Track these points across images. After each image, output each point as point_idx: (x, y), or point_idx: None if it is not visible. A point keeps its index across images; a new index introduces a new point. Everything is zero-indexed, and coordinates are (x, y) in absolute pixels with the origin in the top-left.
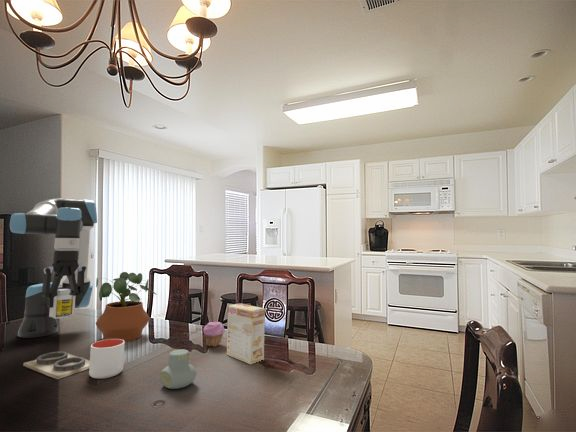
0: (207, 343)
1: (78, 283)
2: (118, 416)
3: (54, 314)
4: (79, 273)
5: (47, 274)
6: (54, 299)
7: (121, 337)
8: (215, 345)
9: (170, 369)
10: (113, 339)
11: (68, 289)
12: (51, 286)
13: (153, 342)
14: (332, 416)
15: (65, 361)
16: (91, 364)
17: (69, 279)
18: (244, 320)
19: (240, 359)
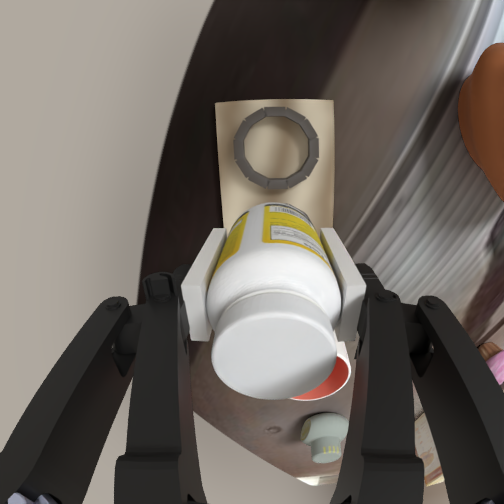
0: (480, 350)
1: (440, 381)
2: (228, 421)
3: None
4: (471, 488)
5: (49, 494)
6: (193, 333)
7: (479, 162)
8: None
9: (309, 442)
10: (344, 360)
11: (303, 384)
12: (139, 371)
13: (490, 238)
14: (322, 482)
15: None
16: None
17: (352, 450)
18: (433, 465)
19: (422, 415)
